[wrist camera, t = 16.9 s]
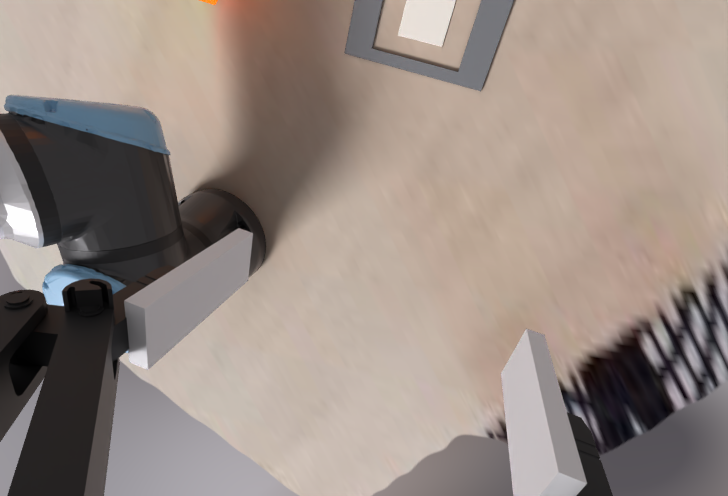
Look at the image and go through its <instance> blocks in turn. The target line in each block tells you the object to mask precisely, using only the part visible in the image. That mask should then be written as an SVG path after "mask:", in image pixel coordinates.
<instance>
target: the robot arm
mask: <svg viewBox="0 0 728 496" xmlns="http://www.w3.org/2000/svg"><path fill="white" fill-rule="evenodd" d="M4 108H5V110H6V111H9V113H7V114H0V239H3V238H4V239H12V240H15V241H17V242H20V243H23V244H26V245H28V246H31V247H34V248H41V247H45V246H49V245H53V244H57V245H58V248H59V250H60V253H61V256H62V259H63V265H58V266H56V267H54V268H53V269H52V270H51V271H50V272H49V273H48V274H47V275H46V276H45V279H44V282H43V286H42V287H43V293H44V294H43V293H41V292H39V291H35V290H18V291H13V292H9V293H7V294H4V295H1V296H0V442H1V440H2V439H3V437H4V436H5V434H6V432H7V431H8V430H9V428H10V427H11V425H12V424H13V423H14V421H15V420H16V418H17V417H18V415H19V414H20V412H21V411H22V409H23V408H24V406H25V405H26V403H27V402H28V401H29V399H30V398H31V396H32V395H33V393H34V392H35V390H36V389H37V387H38V386H39V384H40V383H41V382H42V380H43V379H44V381H43V384H42V388H41V391H40V394H39V397H38V400H37V404H36V407H35V410H34V413H33V416H32V420H31V423H30V426H29V429H28V432H27V435H26V439H25V442H24V445H23V448H22V451H21V455H20V458H19V461H18V464H17V467H16V470H15V473H14V477H13V480H12V483H11V486H10V489H9V493H8V496H104V490H105V481H106V473H107V465H108V456H109V448H110V440H111V432H112V423H113V415H114V407H115V398H116V390H117V382H118V373H119V365H120V362H119V357H120V356H121V355H123V354H124V353H129V362H130V363H133V364H135V365H137V366H140V367H142V368H145V369H147V370H148V369H149V368H151V367H152V366H153V365H154V364H155V363H156V362H157V361H158V360H160V359H161V358H162V357H163V356H164V355H165V354H166V353H167V352H168V351H170V350H171V349H172V348H173V347H174V346H175V345H176V344H177V343H179V342H180V341H181V340H182V339H183V338H184V337H185V336H186V335H188V334H189V333H190V332H191V331H192V330H193V329H194V328H195V327H196V326H198V325H199V324H200V323H201V322H202V321H203V320H204V319H205V318H207V317H208V316H209V315H210V314H211V313H212V312H213V311H214V310H216V309H217V308H218V307H219V306H220V305H221V304H222V303H223V302H224V301H226V300H227V299H228V298H229V297H230V296H231V295H232V294H233V293H235V292H236V291H237V290H238V289H239V288H240V287H241V286H242V285H244V284H245V283H246V282H247V281H248V278H249V277H250V276H251V275H252V274H253V273H255V272H256V271H257V270H258V269H259V267H260V266H261V264H262V262H263V260H264V256H265V250H266V243H265V236H264V233H263V230H262V227H261V225H260V223H259V221H258V219H257V217H256V216H255V214H254V213H253V212H252V211H251V209H250V208H249V207H248V206H247V205H246V204H245V203H244V202H242V201H241V200H240V199H238V198H237V197H235V196H234V195H232V194H230V193H227V192H225V191H221V190H216V189H205V190H200V191H198V192H195V193H193V194H190V195H188V196H186V197H185V198H183V199H182V200H181V201H179V202H178V201H177V196H176V190H175V185H174V180H173V175H172V169H171V164H170V159H169V155H170V152H169V150H168V149H167V147H166V144H165V140H164V136H163V132H162V128H161V124H160V121H159V120H158V118H157V117H156V116H155V115H154V114H153V113H152V112H151V111H149V110H147V109H145V108H142V107H137V106H128V105H119V104H110V103H99V102H88V101H79V100H68V99H57V98H46V97H32V96H20V95H9V96H7V97H6V104H5V105H4ZM46 302H47V303H48V304H47V303H46ZM44 377H45V378H44ZM501 378H502V388H503V397H504V407H505V417H506V427H507V437H508V447H509V456H510V466H511V475H512V486H513V495H514V496H613V495H612V492H611V489H610V486H609V483H608V481H607V477H606V474H605V471H604V469H603V466H602V463H601V461H600V460H599V458H600V457H599V454H598V451H597V449H596V448H595V447H596V445H595V442H594V439H593V436H592V433H591V431H590V430H589V428H588V427H587V426H586V424H585V423H584V421H583V420H582V418H580V417H578V416H575V415H572V414H570V413H567V412H566V408H565V405H564V401H563V398H562V394H561V391H560V387H559V384H558V381H557V377H556V374H555V370H554V367H553V363H552V360H551V356H550V353H549V349H548V346H547V342H546V339H545V335H544V334H541V333H538V332H535V331H532V330H529V329H526V330H525V332H524V334H523V336H522V338H521V339H520V341H519V343H518V345H517V346H516V348H515V350H514V352H513V353H512V355H511V357H510V359H509V360H508V362H507V364H506V366H505V367H504V369H503V371H502V373H501Z"/></svg>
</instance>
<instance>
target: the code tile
mask: <svg viewBox="0 0 728 496" xmlns="http://www.w3.org/2000/svg"><path fill="white" fill-rule="evenodd" d="M513 1H514V0H482V1H481V4H480V7H479V10H478V13H477V16H476V19H475V22H474V25H473V28H472V31H471V34H470V37H469V40H468V43H467V46H466V49H465V52H464V56H463V59H462V62H461V65H460V68H459V71H458V72H456V71H452V70H449V69H445V68H441V67H438V66H434V65H430V64H427V63H423V62H419V61H416V60H412V59H408V58H405V57H401V56H397V55H394V54H390V53H386V52H383V51H379V50H375V49H372V48H373V43H374V39H375V34H376V30H377V25H378V21H379V16H380V12H381V7H382V3H383V0H355V2H354V7H353V12H352V17H351V22H350V28H349V33H348V38H347V43H346V48H345V54H349V55H352V56H356V57H360V58H363V59H367V60H370V61H374V62H378V63H381V64H385V65H388V66H392V67H396V68H399V69H403V70H406V71H410V72H414V73H417V74H421V75H424V76H428V77H432V78H435V79H439V80H442V81H446V82H450V83H453V84H457V85H460V86H464V87H468V88H471V89H475V90H478V91H481V89H482V87H483V84H484V81H485V78H486V76H487V73H488V70H489V67H490V64H491V62H492V59H493V56H494V53H495V51H496V48H497V45H498V42H499V40H500V37H501V34H502V31H503V29H504V26H505V23H506V20H507V18H508V15H509V12H510V9H511V7H512V4H513ZM455 2H456V0H406V4H405V8H404V12H403V16H402V21H401V25H400V29H399V33H398V36H402V37H406V38H410V39H413V40H417V41H421V42H425V43H429V44H432V45H436V46H440V47H442V45H443V42H444V39H445V35H446V32H447V29H448V25H449V22H450V19H451V15H452V12H453V9H454V5H455Z"/></svg>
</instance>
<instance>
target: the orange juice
mask: <svg viewBox="0 0 728 496" xmlns="http://www.w3.org/2000/svg"><path fill="white" fill-rule="evenodd" d="M200 1H203V2H207V3H210V4H213V5H215V4H216V2H217V1H218V0H200Z"/></svg>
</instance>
